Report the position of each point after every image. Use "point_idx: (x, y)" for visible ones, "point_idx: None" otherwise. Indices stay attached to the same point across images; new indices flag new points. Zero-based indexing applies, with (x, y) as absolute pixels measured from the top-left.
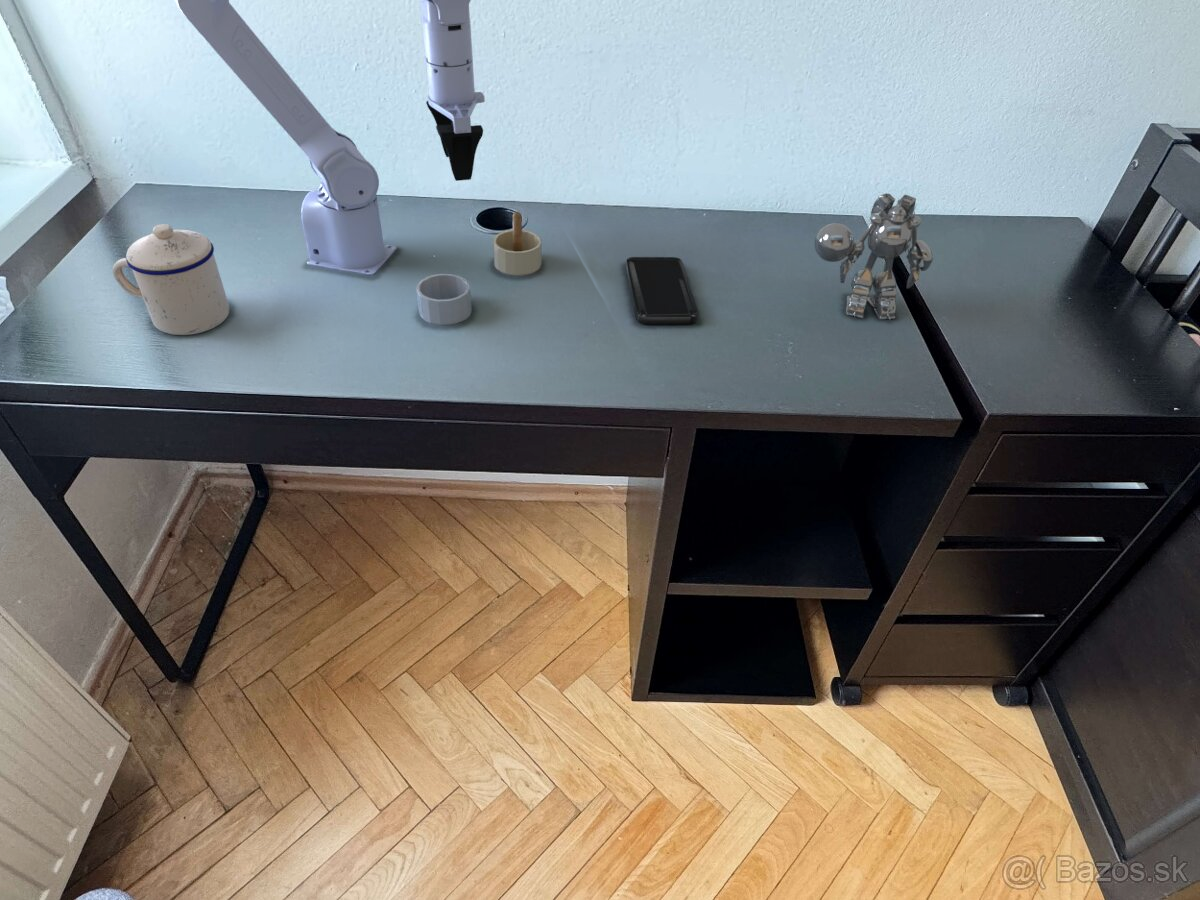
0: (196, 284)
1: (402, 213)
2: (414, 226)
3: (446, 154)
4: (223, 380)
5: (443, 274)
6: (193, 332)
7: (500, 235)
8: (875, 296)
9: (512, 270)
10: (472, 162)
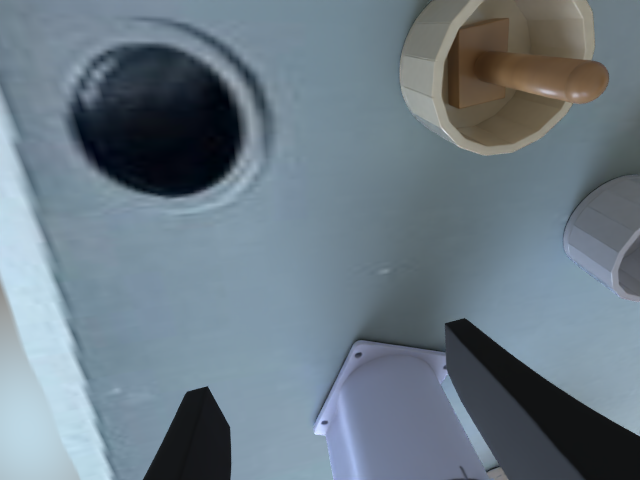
0: None
1: (179, 359)
2: (242, 328)
3: (229, 437)
4: (635, 427)
5: (618, 260)
6: None
7: (459, 132)
8: None
9: None
10: (532, 373)
